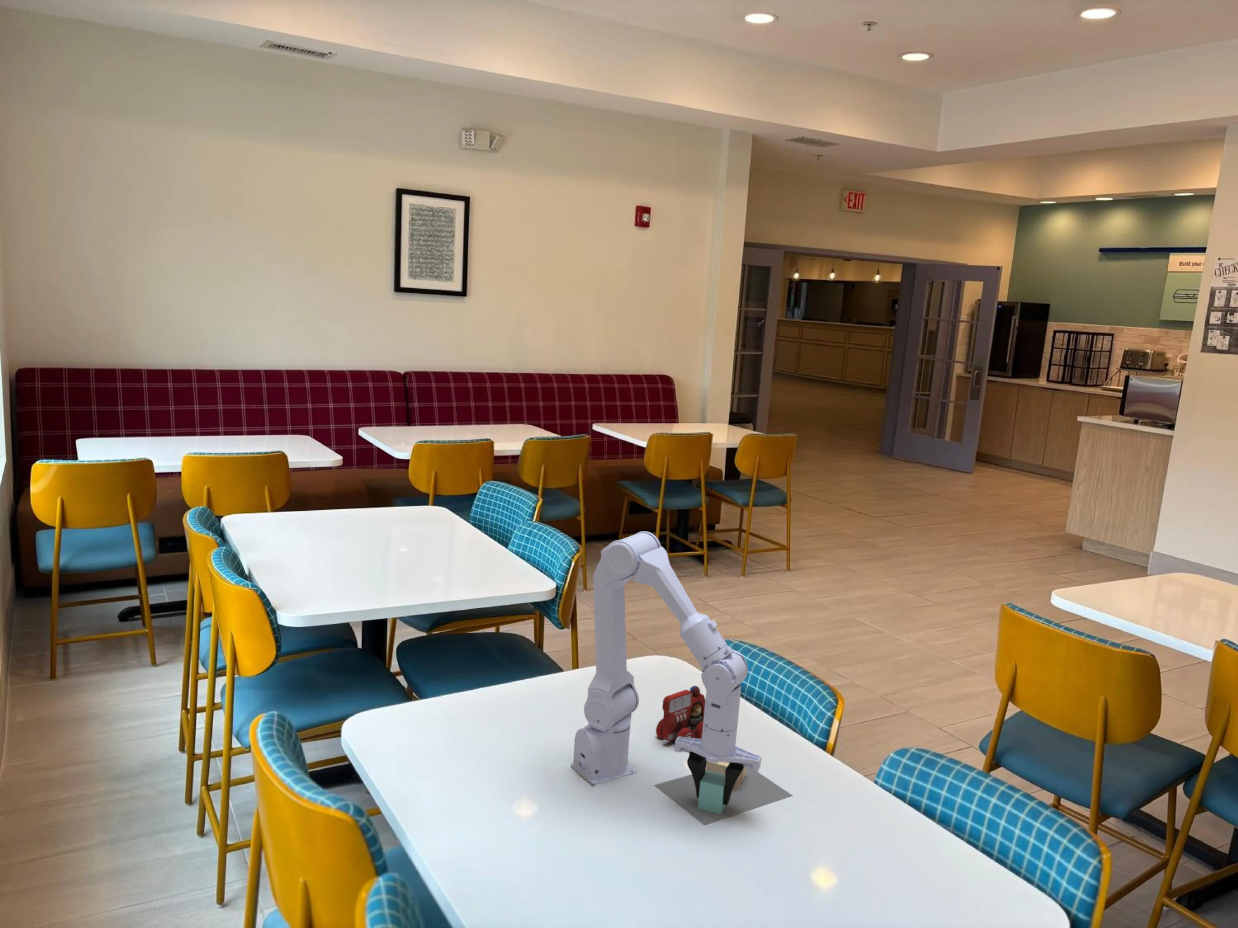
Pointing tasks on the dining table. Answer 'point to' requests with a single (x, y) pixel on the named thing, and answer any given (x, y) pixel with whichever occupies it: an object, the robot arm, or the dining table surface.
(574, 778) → the dining table surface
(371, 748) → the dining table surface
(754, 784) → the mat
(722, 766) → the base block
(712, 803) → the teal brick
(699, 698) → the toy fire truck
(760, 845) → the dining table surface
